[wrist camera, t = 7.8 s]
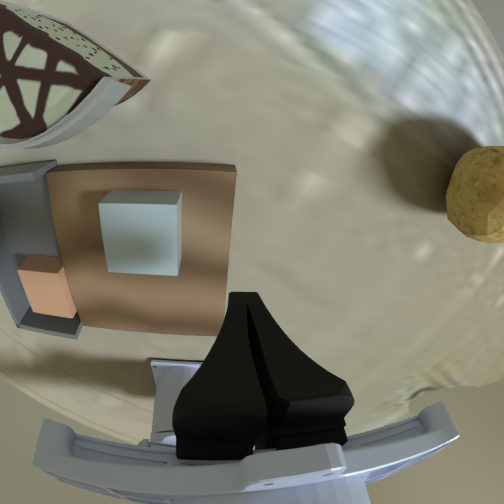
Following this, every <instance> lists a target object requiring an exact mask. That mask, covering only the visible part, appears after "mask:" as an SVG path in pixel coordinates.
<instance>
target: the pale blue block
mask: <svg viewBox="0 0 504 504" xmlns="http://www.w3.org/2000/svg"><path fill="white" fill-rule="evenodd" d="M98 204H99V214H100V222H101V230H102V237H103V244H104V250H105V256H106V262H107V268H108V272H116V273H132V274H149V275H168V276H178V272H179V267H180V262H181V257H182V253H181V208H182V191H150V190H111V191H110V192H109V193H108V194H107V195H106V196H105V197H104V198H103V199H102V200H101V201H100V202H99V203H98Z"/></svg>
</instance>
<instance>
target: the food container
mask: <svg viewBox="0 0 504 504" xmlns="http://www.w3.org/2000/svg"><path fill="white" fill-rule="evenodd" d="M149 81H150V79H149V78H148V77H146V76H145V75H144V74H142V73H141V72H140V71H138V70H137V69H136V68H134V67H133V66H132V65H130V64H129V63H127V62H126V61H125V60H123V59H122V58H120V57H119V56H118V55H116V54H115V53H113V52H112V51H110V50H109V49H108V48H106V47H105V46H103V45H102V44H100V43H99V42H97V41H96V40H94V39H93V38H91V37H90V36H88V35H87V34H85V33H84V32H82V31H81V30H79V29H77V28H76V27H74V26H73V25H71V24H69V23H67V22H64V21H62V20H59V19H57V18H54V17H51V16H49V15H46V14H43V13H40V12H37V11H34V10H31V9H28V8H25V7H21V6H18V5H15V4H11V3H7V2H3V1H0V147H2V148H7V149H27V148H41V147H46V146H51V145H54V144H57V143H59V142H62V141H65V140H67V139H69V138H71V137H73V136H75V135H76V134H78V133H80V132H82V131H84V130H85V129H87V128H88V127H89V126H91V125H92V124H93V123H95V122H96V121H97V120H99V119H100V118H102V117H103V116H104V115H105V114H106V113H107V112H108V111H109V110H110V109H111V108H112V107H113V106H116V105H118V104H120V103H122V102H124V101H126V100H128V99H129V98H131V97H132V96H134V95H135V94H136V93H137V92H139V91H140V90H141V89H142V88H143V87H144V86H145V85H146V84H147V83H148V82H149Z"/></svg>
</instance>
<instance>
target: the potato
mask: <svg viewBox="0 0 504 504" xmlns="http://www.w3.org/2000/svg"><path fill="white" fill-rule="evenodd" d="M446 205H447V216H448V220H449V221H450V222H451V223H452V224H453V225H454V226H455V227H456V228H457V229H458V230H459V231H461V232H462V233H463V234H464V235H465V236H467V237H469V238H472V239H475V240H478V241H481V242H485V243H504V146H486V147H480V148H475V149H472V150H470V151H468V152H466V153H465V154H463V156H462V157H461V158H460V159H459V161H458V162H457V164H456V167H455V169H454V171H453V174H452V177H451V180H450V183H449V186H448V189H447V191H446Z"/></svg>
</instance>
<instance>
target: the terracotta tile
mask: <svg viewBox="0 0 504 504" xmlns="http://www.w3.org/2000/svg"><path fill="white" fill-rule="evenodd" d="M17 271H18V274H19V277H20V279H21V282H22V285H23V288H24V290H25V293H26V295H27V298H28V300H29V303H30V305H31V308H32V310H33V312H36V313H41V314H47V315H53V316H60V317H66V318H73V317H74V315H75V313H76V311H77V309H76V306H75V303H74V299H73V296H72V293H71V290H70V287H69V283H68V280H67V276H66V273H65V269H64V265H63V261H62V257H53V256H38V255H29V256H28V257H27V258H26V260H25V261H24V262H23V263H22V264H21V265H20V267H19V268H18V269H17Z"/></svg>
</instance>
